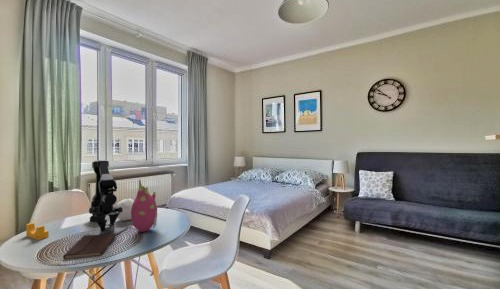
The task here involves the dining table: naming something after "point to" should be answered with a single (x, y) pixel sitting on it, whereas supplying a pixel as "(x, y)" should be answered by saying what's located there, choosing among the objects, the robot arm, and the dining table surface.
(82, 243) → the notebook
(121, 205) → the geodesic sphere
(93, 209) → the robot arm
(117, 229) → the gray square plate
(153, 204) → the pink dragon fruit
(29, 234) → the pipe clamp
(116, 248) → the dining table surface
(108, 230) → the ring
